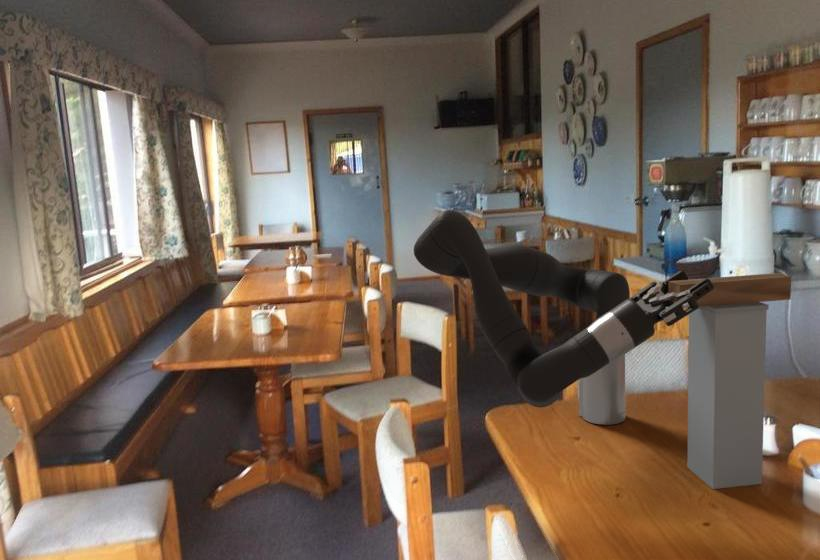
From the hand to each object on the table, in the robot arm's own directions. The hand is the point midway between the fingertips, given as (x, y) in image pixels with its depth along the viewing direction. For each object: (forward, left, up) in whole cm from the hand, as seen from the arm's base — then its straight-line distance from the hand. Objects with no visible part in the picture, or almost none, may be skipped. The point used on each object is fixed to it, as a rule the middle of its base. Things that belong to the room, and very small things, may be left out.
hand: (697, 278), depth 123 cm
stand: (+3, +5, -36) cm, 37 cm away
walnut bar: (+3, +5, -4) cm, 7 cm away
